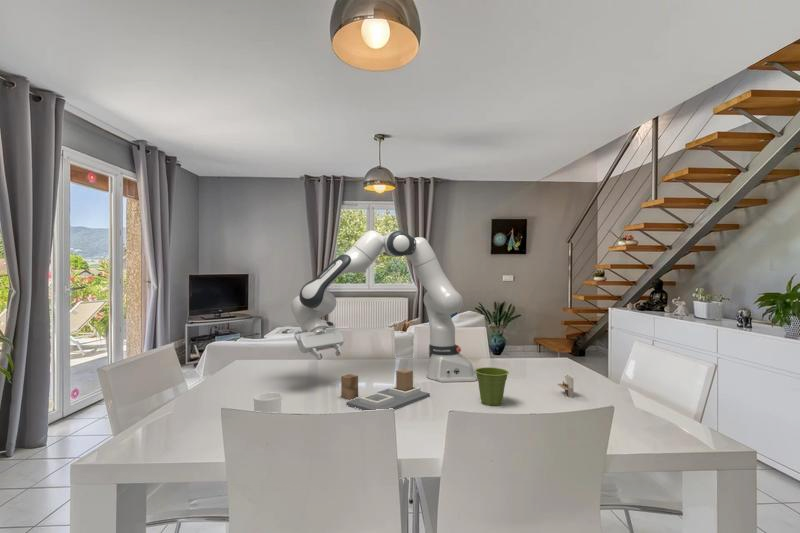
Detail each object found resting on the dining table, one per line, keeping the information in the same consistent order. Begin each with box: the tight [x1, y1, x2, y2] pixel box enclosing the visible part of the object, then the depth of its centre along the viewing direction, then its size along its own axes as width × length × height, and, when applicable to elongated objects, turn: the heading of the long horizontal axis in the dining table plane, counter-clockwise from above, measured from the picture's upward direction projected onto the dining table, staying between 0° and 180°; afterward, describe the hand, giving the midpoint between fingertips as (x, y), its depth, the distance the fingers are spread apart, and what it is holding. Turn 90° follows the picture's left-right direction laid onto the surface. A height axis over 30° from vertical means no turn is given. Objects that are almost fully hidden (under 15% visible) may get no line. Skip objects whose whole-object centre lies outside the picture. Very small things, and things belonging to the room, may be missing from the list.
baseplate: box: [345, 368, 431, 411], centre depth 151 cm, size 27×16×9 cm, turn 139°
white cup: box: [253, 391, 283, 414], centre depth 123 cm, size 8×8×10 cm
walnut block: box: [340, 373, 359, 401], centre depth 155 cm, size 4×4×8 cm
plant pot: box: [474, 366, 510, 406], centre depth 148 cm, size 12×12×11 cm
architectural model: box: [556, 374, 575, 399], centre depth 157 cm, size 3×7×7 cm, turn 0°
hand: (330, 356), depth 163 cm, fingers open, 8 cm apart
